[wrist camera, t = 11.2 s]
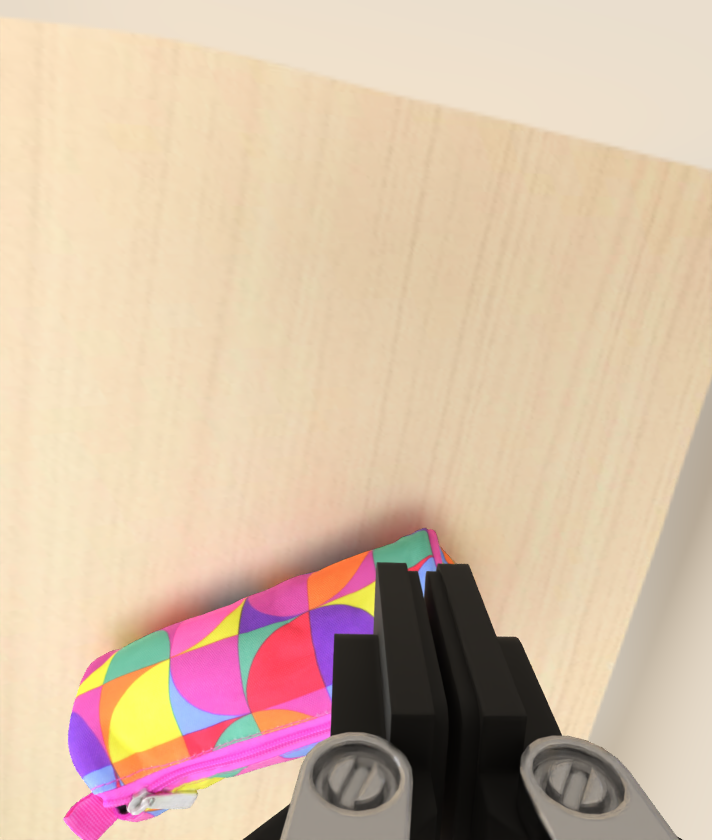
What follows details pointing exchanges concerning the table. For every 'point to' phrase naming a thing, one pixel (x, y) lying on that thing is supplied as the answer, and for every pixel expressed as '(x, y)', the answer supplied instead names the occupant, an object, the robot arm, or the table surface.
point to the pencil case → (222, 690)
